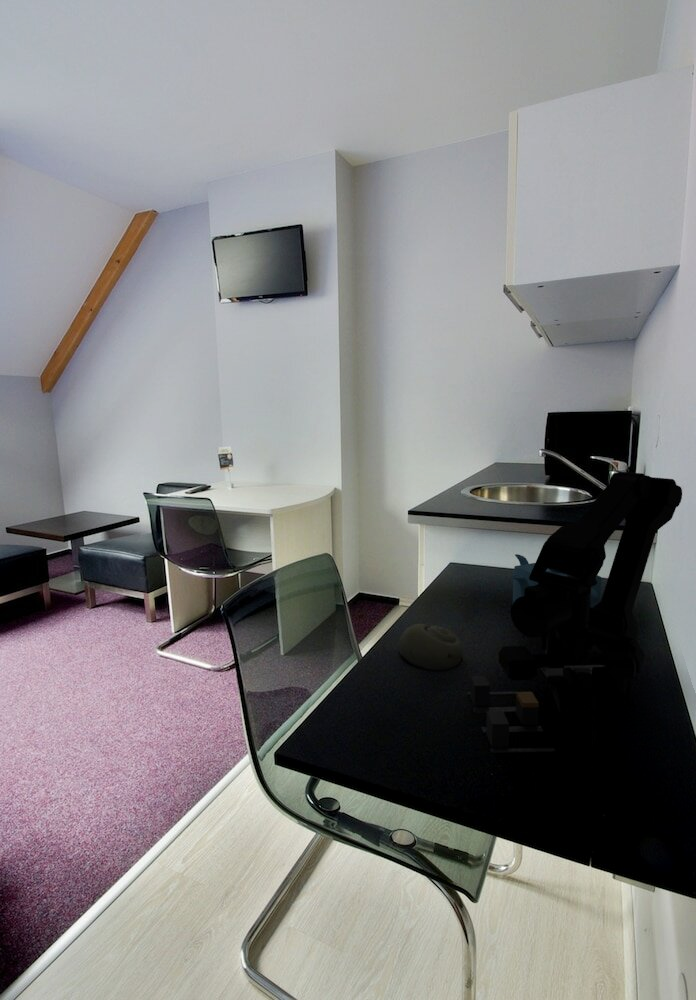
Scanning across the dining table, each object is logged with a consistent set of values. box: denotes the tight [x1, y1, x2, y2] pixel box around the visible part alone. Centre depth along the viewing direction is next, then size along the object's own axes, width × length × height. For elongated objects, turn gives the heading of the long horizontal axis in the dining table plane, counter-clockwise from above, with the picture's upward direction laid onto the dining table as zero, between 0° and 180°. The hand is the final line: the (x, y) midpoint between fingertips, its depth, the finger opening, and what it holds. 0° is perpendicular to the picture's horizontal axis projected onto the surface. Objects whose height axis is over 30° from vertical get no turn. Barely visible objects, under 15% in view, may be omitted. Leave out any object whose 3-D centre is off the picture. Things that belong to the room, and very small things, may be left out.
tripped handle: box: [515, 691, 540, 726], centre depth 77 cm, size 2×3×4 cm
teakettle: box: [511, 554, 602, 608], centre depth 114 cm, size 19×19×15 cm
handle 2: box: [485, 711, 510, 749], centre depth 72 cm, size 2×3×4 cm
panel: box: [466, 691, 556, 754], centre depth 78 cm, size 18×16×1 cm
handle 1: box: [469, 675, 491, 708], centre depth 82 cm, size 2×3×4 cm
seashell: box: [398, 623, 464, 671], centre depth 97 cm, size 13×8×10 cm
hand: (562, 712), depth 77 cm, fingers closed
